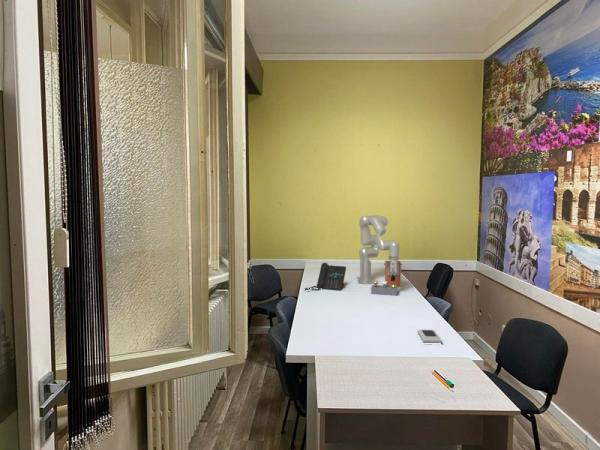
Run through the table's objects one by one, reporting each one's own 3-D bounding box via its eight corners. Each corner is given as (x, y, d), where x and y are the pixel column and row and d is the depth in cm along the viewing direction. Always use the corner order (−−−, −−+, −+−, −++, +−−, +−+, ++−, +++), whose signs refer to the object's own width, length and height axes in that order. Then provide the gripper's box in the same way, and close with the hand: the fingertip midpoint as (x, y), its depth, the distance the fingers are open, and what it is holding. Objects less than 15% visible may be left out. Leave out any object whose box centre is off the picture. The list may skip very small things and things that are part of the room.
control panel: (383, 285, 342) (400, 285, 340) (384, 287, 335) (402, 287, 333) (383, 260, 340) (401, 260, 339) (384, 262, 333) (402, 262, 332)
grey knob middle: (381, 288, 313) (381, 281, 313) (382, 287, 317) (382, 280, 317) (386, 289, 312) (386, 282, 312) (387, 287, 316) (387, 281, 316)
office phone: (302, 291, 323) (302, 267, 322) (313, 283, 350) (313, 261, 348) (337, 294, 313) (337, 269, 311) (346, 286, 339) (346, 263, 338)
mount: (371, 293, 313) (371, 287, 312) (372, 290, 323) (372, 284, 322) (397, 295, 307) (397, 289, 307) (397, 292, 317) (397, 286, 317)
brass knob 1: (372, 288, 315) (372, 281, 315) (373, 287, 319) (373, 280, 318) (377, 288, 314) (377, 281, 314) (378, 287, 318) (378, 280, 317)
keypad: (423, 338, 210) (417, 328, 225) (423, 345, 211) (417, 334, 226) (442, 338, 210) (434, 328, 225) (441, 345, 210) (434, 335, 225)
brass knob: (390, 292, 312) (390, 285, 311) (390, 291, 315) (391, 284, 315) (395, 292, 310) (396, 285, 310) (396, 291, 314) (396, 284, 314)
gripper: (398, 260, 303) (397, 283, 305) (399, 256, 317) (398, 278, 319) (388, 259, 305) (387, 282, 307) (389, 256, 319) (388, 278, 321)
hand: (393, 280), depth 313 cm, fingers closed
